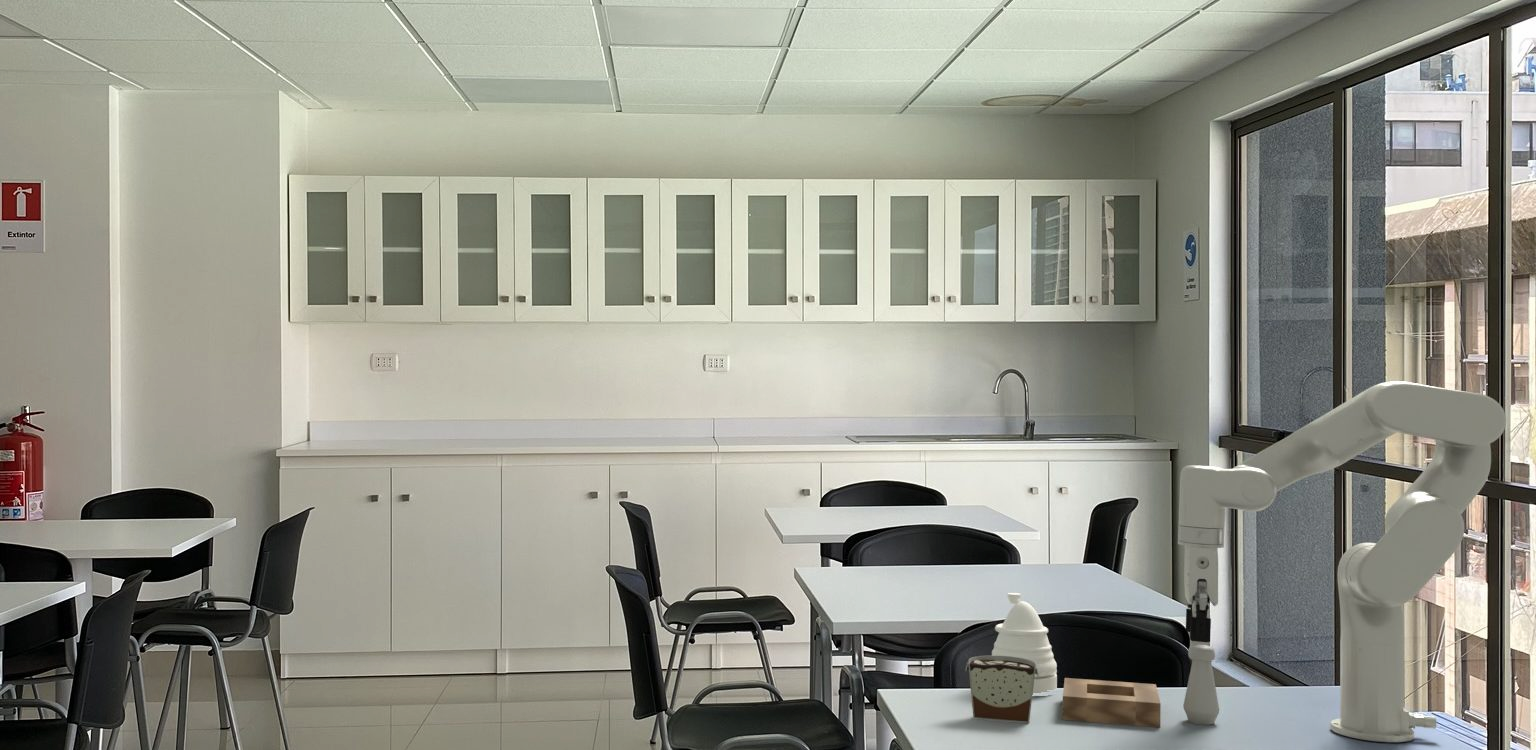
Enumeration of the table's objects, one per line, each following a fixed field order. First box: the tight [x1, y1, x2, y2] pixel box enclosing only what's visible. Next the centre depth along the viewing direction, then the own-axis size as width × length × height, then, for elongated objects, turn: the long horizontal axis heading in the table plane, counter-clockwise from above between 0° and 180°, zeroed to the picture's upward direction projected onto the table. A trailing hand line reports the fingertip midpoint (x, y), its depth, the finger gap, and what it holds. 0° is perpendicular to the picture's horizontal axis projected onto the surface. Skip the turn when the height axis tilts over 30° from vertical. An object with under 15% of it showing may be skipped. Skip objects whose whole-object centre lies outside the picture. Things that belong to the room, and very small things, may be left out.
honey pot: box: [991, 592, 1058, 693], centre depth 233 cm, size 13×13×18 cm
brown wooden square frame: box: [1062, 677, 1162, 728], centre depth 215 cm, size 16×16×4 cm
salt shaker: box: [1182, 644, 1220, 726], centre depth 210 cm, size 6×6×13 cm
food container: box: [965, 655, 1039, 724], centre depth 211 cm, size 12×6×10 cm, turn 74°
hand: (1197, 636), depth 210 cm, fingers open, 9 cm apart
